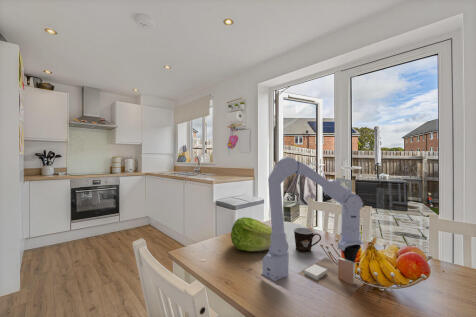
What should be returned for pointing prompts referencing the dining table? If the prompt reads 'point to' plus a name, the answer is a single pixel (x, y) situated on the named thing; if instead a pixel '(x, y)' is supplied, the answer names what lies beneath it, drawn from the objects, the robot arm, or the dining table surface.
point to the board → (334, 279)
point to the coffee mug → (304, 239)
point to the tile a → (315, 272)
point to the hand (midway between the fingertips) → (349, 264)
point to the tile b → (346, 270)
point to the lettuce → (251, 235)
